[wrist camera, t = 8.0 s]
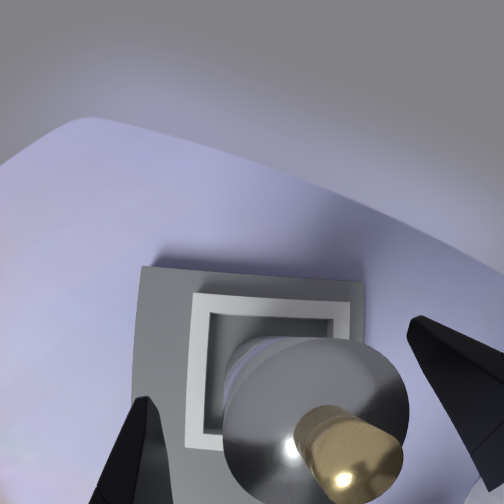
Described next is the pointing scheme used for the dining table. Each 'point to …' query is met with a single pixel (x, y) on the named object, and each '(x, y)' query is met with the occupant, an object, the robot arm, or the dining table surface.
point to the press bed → (220, 356)
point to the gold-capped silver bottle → (313, 420)
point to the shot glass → (485, 494)
